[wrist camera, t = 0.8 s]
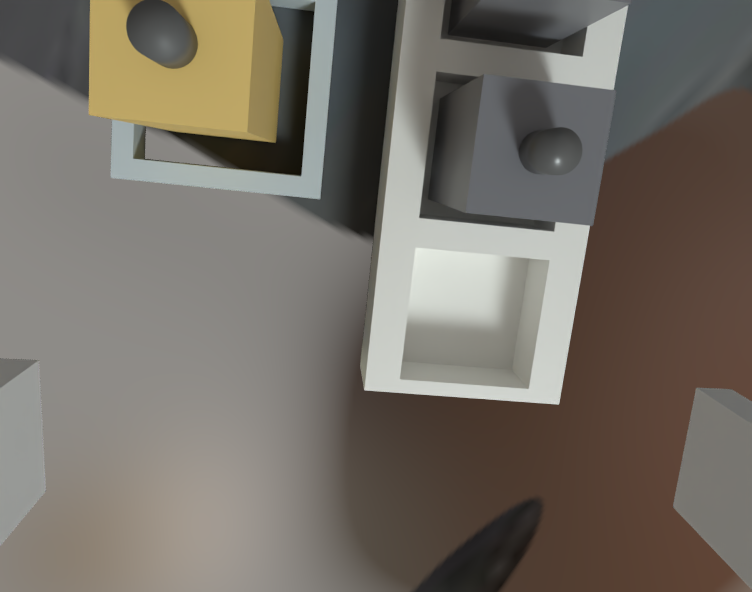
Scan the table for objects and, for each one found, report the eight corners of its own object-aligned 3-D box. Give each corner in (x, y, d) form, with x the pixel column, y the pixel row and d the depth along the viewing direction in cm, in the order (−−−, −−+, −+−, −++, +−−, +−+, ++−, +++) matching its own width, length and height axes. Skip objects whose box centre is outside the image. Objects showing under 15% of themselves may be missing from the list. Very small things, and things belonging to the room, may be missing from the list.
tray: (129, -36, 30) (115, -50, 28) (338, -8, 31) (339, -19, 29) (123, 176, 32) (110, 177, 30) (320, 196, 33) (320, 199, 31)
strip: (409, -111, 30) (462, -282, 19) (608, -81, 31) (777, -226, 20) (360, 364, 35) (377, 466, 23) (533, 378, 36) (633, 482, 24)
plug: (180, 27, 31) (64, -80, 17) (283, 40, 31) (249, -55, 18) (176, 131, 32) (62, 109, 18) (276, 142, 32) (238, 129, 19)
